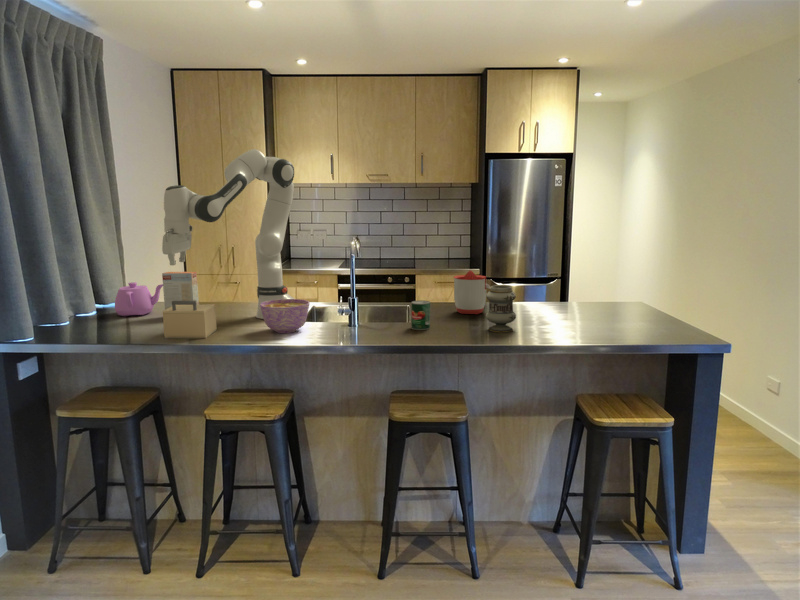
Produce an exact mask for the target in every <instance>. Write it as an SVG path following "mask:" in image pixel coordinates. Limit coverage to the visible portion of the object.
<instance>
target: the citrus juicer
mask: <svg viewBox="0 0 800 600" xmlns="http://www.w3.org/2000/svg"><path fill="white" fill-rule="evenodd" d="M453 279H454V280H453V282H454V283H453V289H454V290H453V298H454V299H453V300H454V304H455V309H456V312H458V313H460V314H462V315H464V314H465V315H467V314H468V315H479V314H481V313H483V311H484V309H485V306H486V302H487V301H486V300H487V297H486V295H487V289H491V286H490V283H489V284H488V283H487V276H486V275H480V274H479V275H478V274H475V273H474V272H473V270H469V271H468V272H467V273H466V274H460V275H455V276H453Z"/></svg>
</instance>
